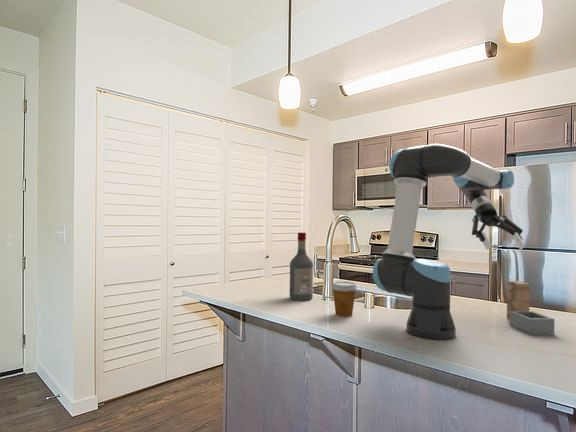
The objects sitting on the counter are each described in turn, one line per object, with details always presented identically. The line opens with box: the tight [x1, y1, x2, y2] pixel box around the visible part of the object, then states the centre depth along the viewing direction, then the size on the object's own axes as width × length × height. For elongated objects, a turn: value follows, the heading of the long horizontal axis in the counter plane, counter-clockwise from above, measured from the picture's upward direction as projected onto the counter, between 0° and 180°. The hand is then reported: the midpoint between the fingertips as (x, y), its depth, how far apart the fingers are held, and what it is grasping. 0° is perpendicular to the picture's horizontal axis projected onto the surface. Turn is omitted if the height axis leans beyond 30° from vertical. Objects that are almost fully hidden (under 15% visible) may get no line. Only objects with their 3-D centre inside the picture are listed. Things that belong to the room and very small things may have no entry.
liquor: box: [289, 232, 314, 302], centre depth 171 cm, size 9×9×30 cm
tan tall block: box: [506, 280, 531, 320], centre depth 140 cm, size 6×4×14 cm
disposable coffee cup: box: [331, 281, 358, 318], centre depth 144 cm, size 10×10×12 cm
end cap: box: [509, 310, 555, 336], centre depth 128 cm, size 10×8×5 cm
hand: (505, 247), depth 147 cm, fingers open, 13 cm apart
